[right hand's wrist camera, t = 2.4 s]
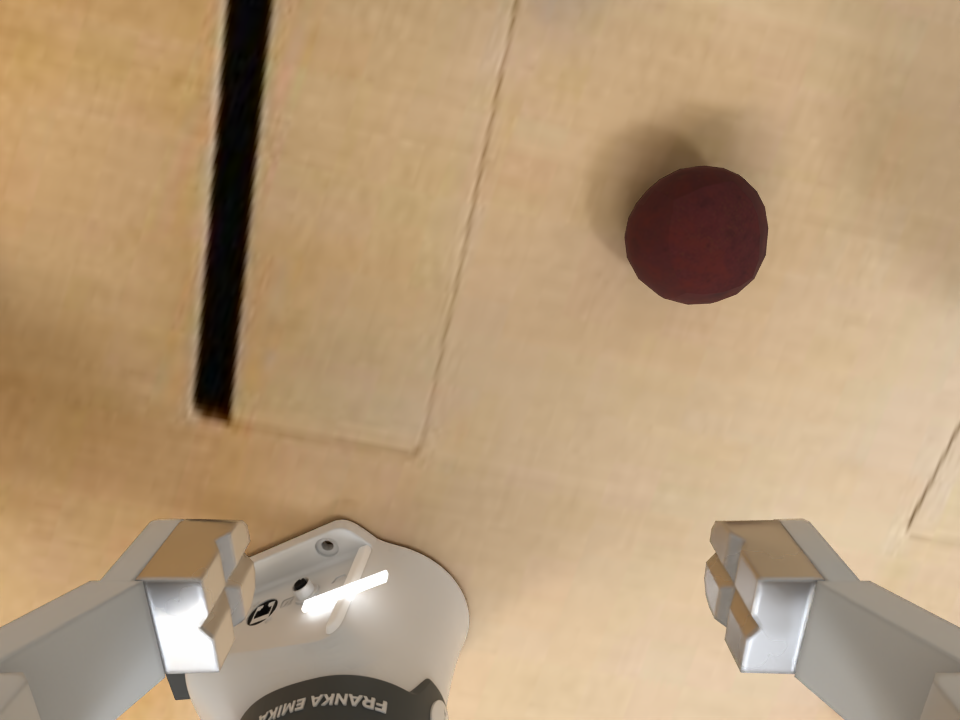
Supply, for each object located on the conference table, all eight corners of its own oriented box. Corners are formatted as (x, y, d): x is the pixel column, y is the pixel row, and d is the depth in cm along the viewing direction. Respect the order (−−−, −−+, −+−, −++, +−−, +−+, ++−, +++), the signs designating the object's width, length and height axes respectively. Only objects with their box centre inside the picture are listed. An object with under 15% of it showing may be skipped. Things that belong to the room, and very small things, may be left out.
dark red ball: (726, 146, 35) (782, 150, 29) (743, 272, 38) (799, 302, 31) (602, 183, 36) (629, 194, 30) (628, 304, 39) (658, 339, 32)
